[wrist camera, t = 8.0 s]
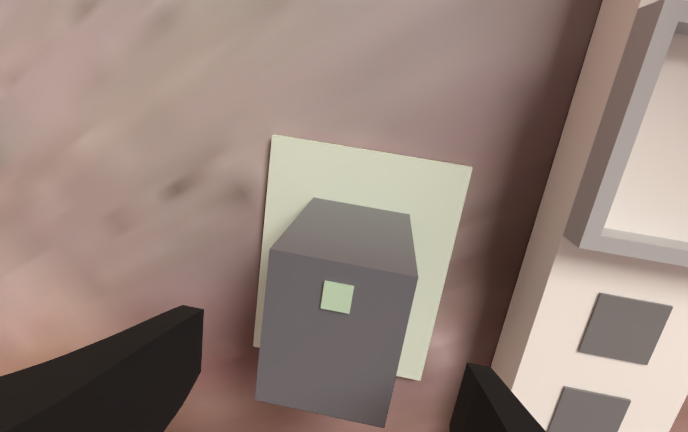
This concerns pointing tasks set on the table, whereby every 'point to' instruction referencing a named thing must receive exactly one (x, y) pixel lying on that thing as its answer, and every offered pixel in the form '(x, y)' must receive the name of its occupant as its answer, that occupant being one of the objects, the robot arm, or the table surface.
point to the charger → (337, 311)
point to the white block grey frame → (611, 240)
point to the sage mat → (376, 192)
